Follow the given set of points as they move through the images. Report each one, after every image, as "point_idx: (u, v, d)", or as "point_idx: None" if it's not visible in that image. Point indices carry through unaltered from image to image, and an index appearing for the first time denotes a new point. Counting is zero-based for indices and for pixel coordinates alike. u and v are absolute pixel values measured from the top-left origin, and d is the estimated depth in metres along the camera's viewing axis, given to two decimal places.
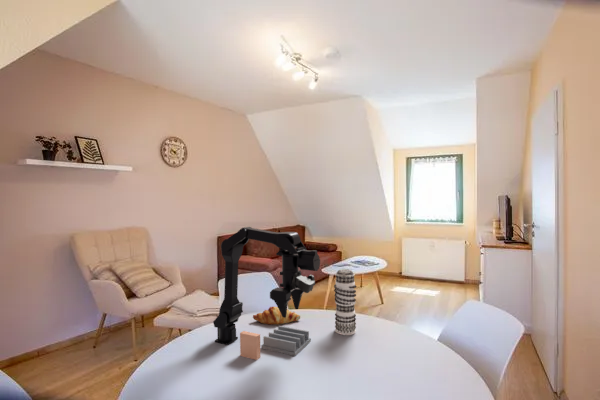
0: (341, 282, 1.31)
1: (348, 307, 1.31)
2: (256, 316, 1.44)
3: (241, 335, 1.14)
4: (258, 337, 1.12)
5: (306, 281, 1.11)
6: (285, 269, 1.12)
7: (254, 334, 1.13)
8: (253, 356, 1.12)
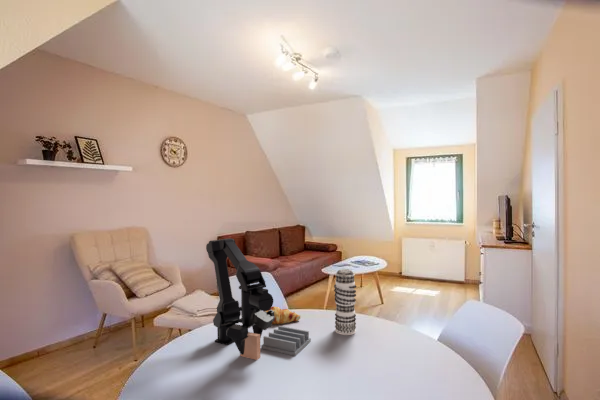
0: (341, 282, 1.31)
1: (348, 307, 1.31)
2: None
3: None
4: (258, 337, 1.12)
5: (264, 317, 1.10)
6: (244, 305, 1.11)
7: (254, 334, 1.13)
8: (253, 356, 1.12)
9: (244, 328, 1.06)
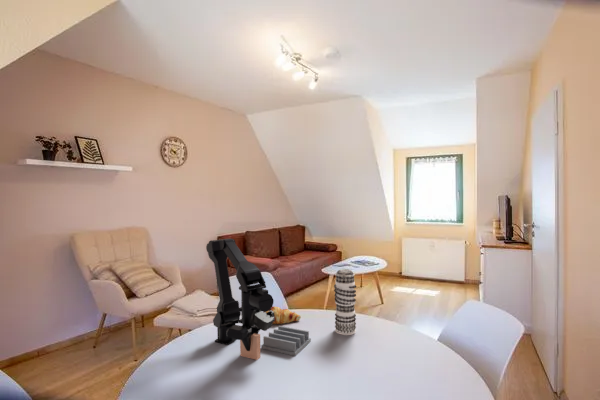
0: (341, 282, 1.31)
1: (348, 307, 1.31)
2: None
3: None
4: (258, 337, 1.12)
5: (264, 318, 1.10)
6: (244, 306, 1.11)
7: (254, 334, 1.13)
8: (253, 356, 1.12)
9: (244, 329, 1.06)
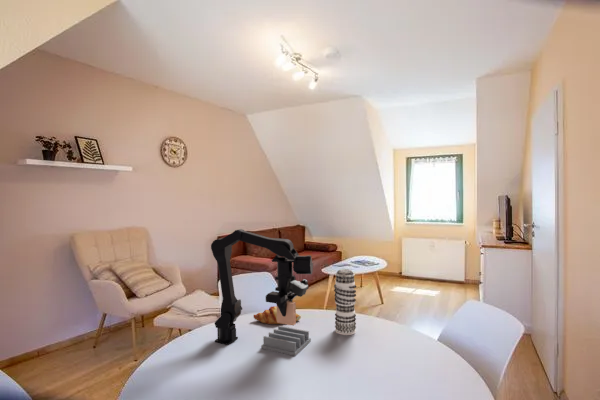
0: (341, 282, 1.31)
1: (348, 307, 1.31)
2: (257, 316, 1.45)
3: None
4: (294, 304, 1.20)
5: (299, 285, 1.18)
6: (280, 274, 1.20)
7: (290, 302, 1.21)
8: (289, 322, 1.20)
9: (282, 294, 1.15)
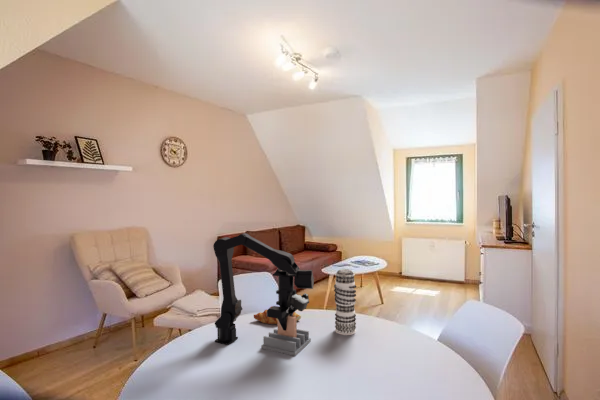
0: (341, 282, 1.31)
1: (348, 307, 1.31)
2: (257, 315, 1.45)
3: None
4: (295, 319, 1.21)
5: (300, 300, 1.19)
6: (281, 288, 1.20)
7: (291, 316, 1.21)
8: None
9: (283, 309, 1.15)
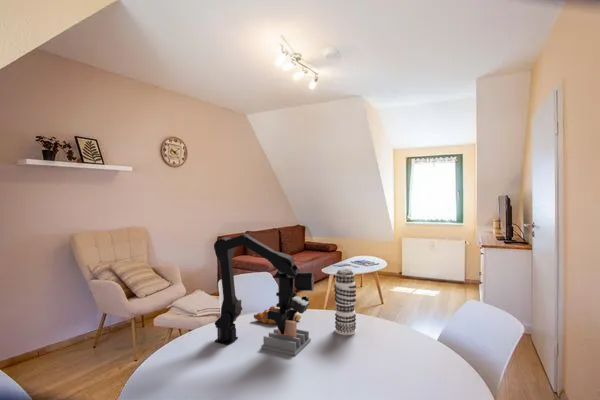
0: (341, 282, 1.31)
1: (348, 307, 1.31)
2: (257, 315, 1.45)
3: None
4: (295, 324, 1.21)
5: (301, 302, 1.19)
6: (281, 291, 1.20)
7: (291, 321, 1.21)
8: None
9: (283, 311, 1.15)
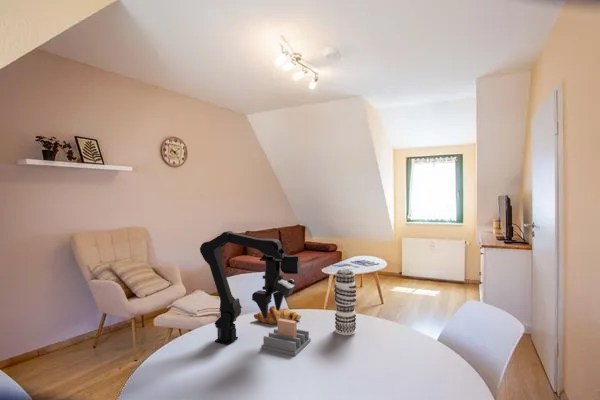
0: (341, 282, 1.31)
1: (348, 307, 1.31)
2: (257, 315, 1.46)
3: (278, 322, 1.23)
4: (295, 324, 1.21)
5: (286, 285, 1.20)
6: (267, 273, 1.21)
7: (291, 321, 1.21)
8: None
9: (268, 293, 1.16)
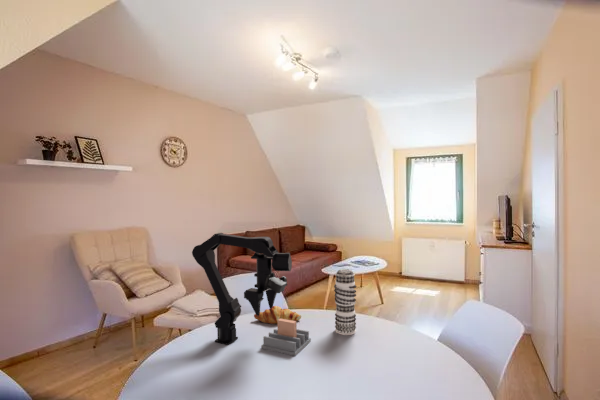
0: (341, 282, 1.31)
1: (348, 307, 1.31)
2: None
3: (278, 322, 1.23)
4: (295, 324, 1.21)
5: (278, 282, 1.20)
6: (259, 271, 1.21)
7: (291, 321, 1.21)
8: None
9: (260, 291, 1.17)
